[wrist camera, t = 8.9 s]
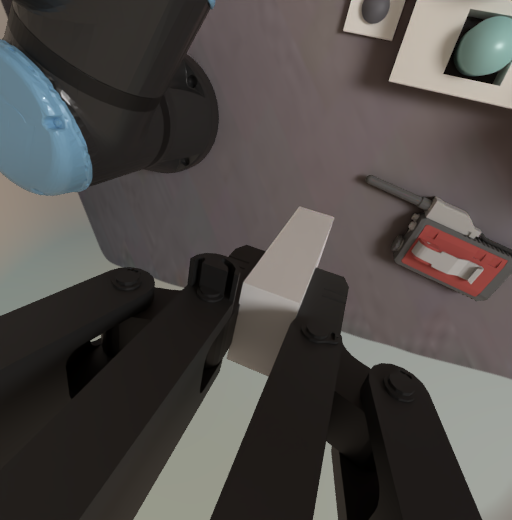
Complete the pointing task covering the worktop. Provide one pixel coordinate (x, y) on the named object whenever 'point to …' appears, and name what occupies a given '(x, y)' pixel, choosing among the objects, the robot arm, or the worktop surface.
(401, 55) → the board
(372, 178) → the walkie-talkie
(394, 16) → the pattern card
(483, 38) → the button
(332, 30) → the worktop surface
